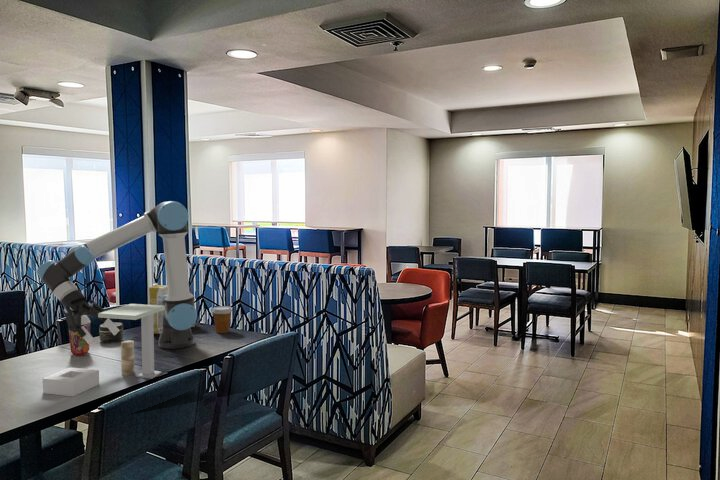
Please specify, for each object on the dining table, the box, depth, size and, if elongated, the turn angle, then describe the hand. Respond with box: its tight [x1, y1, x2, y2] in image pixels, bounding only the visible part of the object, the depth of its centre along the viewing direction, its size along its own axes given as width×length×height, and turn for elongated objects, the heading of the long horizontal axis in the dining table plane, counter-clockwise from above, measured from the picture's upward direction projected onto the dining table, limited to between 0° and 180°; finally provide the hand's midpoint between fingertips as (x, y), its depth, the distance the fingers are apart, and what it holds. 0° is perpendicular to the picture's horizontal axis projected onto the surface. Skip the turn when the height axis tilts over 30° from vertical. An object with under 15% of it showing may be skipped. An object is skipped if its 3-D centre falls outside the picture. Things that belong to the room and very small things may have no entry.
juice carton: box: [147, 283, 168, 335], centre depth 254 cm, size 9×8×24 cm
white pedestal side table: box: [98, 303, 165, 380], centre depth 192 cm, size 17×18×24 cm
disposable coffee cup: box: [211, 305, 233, 334], centre depth 257 cm, size 10×10×12 cm
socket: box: [42, 367, 100, 397], centre depth 178 cm, size 12×12×5 cm
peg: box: [120, 340, 135, 376], centre depth 194 cm, size 4×4×12 cm
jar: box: [98, 321, 124, 344], centre depth 238 cm, size 10×10×8 cm
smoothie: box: [67, 315, 92, 357], centre depth 216 cm, size 8×8×20 cm
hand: (104, 337), depth 195 cm, fingers open, 13 cm apart
